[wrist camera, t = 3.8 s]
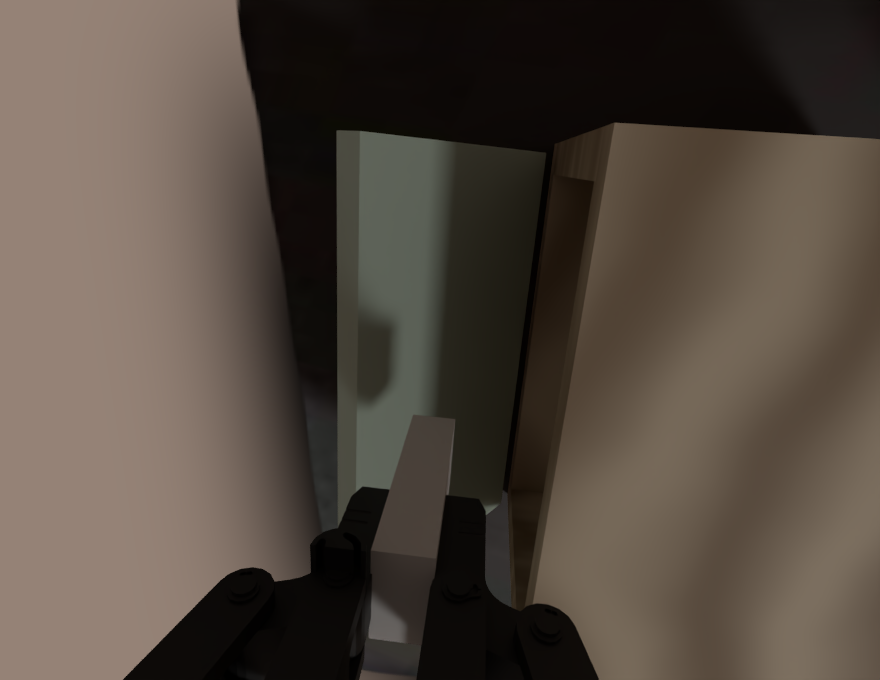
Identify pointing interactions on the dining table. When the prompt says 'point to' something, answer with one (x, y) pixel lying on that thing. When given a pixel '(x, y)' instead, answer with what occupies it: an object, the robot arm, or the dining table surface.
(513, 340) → the door
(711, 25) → the dining table surface
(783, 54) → the dining table surface
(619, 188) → the cabinet
